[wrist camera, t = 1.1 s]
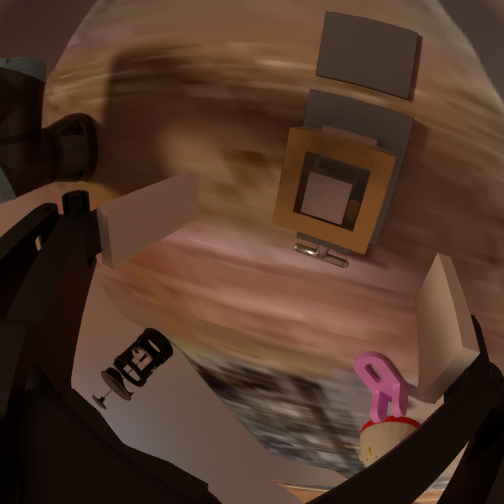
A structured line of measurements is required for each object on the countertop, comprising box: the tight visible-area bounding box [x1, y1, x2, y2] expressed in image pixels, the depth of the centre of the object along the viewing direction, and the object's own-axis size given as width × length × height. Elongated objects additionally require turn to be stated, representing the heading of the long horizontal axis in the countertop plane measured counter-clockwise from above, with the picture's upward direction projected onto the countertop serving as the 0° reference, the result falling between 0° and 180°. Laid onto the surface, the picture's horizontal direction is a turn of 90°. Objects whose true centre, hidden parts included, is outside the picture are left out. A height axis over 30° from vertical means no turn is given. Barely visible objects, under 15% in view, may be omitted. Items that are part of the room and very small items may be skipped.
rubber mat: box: [315, 11, 418, 100], centre depth 24 cm, size 11×9×1 cm
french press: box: [92, 328, 173, 409], centre depth 58 cm, size 12×9×23 cm
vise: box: [293, 89, 414, 268], centre depth 26 cm, size 12×19×16 cm, turn 171°
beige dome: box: [359, 416, 419, 468], centre depth 42 cm, size 14×14×15 cm
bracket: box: [354, 351, 408, 423], centre depth 40 cm, size 13×6×7 cm, turn 45°
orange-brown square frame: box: [272, 126, 396, 255], centre depth 23 cm, size 8×8×5 cm
